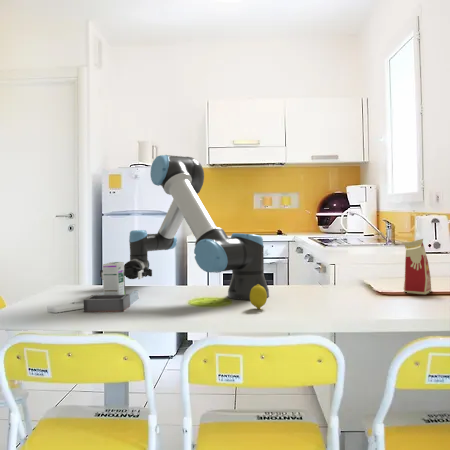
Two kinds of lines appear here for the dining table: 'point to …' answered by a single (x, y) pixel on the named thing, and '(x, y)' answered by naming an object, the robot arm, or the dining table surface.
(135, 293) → the guide channel
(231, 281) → the robot arm
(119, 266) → the syrup box
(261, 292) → the lemon
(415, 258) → the red paper bag
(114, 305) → the trap bin
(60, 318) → the dining table surface
